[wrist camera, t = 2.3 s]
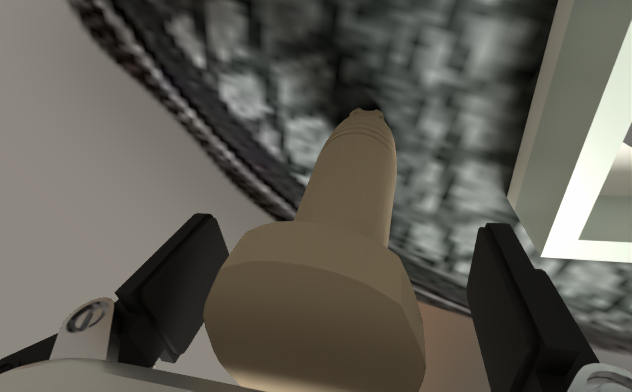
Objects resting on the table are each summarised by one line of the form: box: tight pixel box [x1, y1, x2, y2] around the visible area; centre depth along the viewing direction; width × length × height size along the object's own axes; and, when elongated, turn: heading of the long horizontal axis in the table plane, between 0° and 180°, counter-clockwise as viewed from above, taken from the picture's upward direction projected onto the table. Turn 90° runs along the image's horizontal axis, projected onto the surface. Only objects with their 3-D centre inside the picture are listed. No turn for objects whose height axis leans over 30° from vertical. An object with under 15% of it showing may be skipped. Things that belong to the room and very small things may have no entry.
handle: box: [203, 108, 426, 392], centre depth 13 cm, size 5×6×15 cm
